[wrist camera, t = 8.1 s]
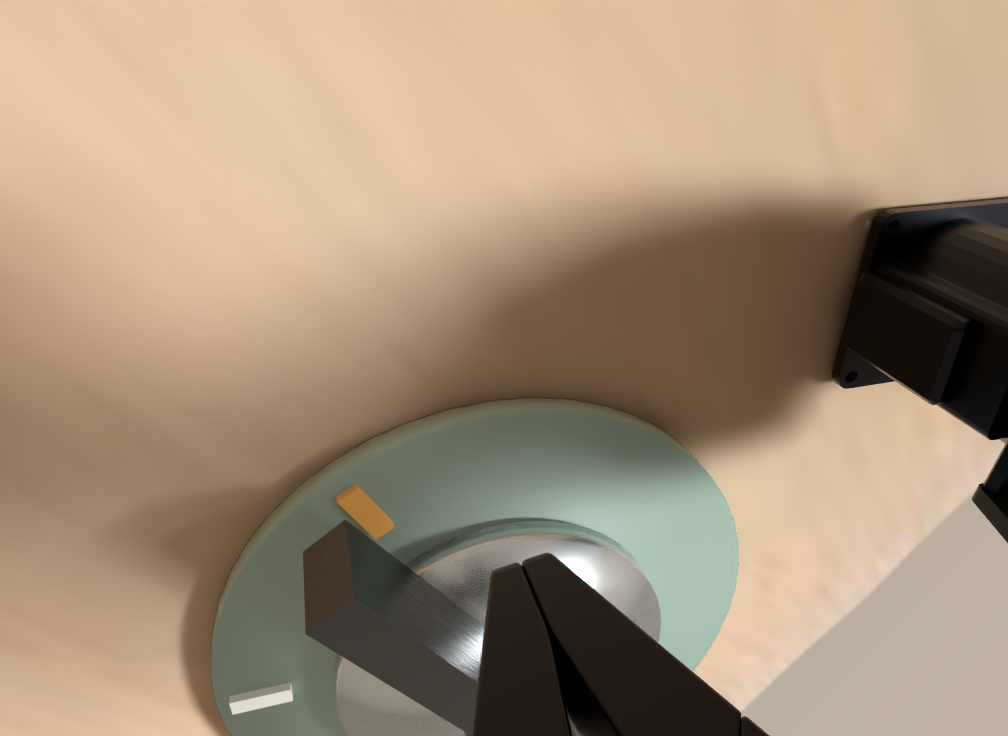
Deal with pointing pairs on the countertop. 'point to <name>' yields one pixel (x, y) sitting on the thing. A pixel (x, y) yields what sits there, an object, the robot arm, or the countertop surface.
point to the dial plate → (463, 509)
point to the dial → (438, 616)
